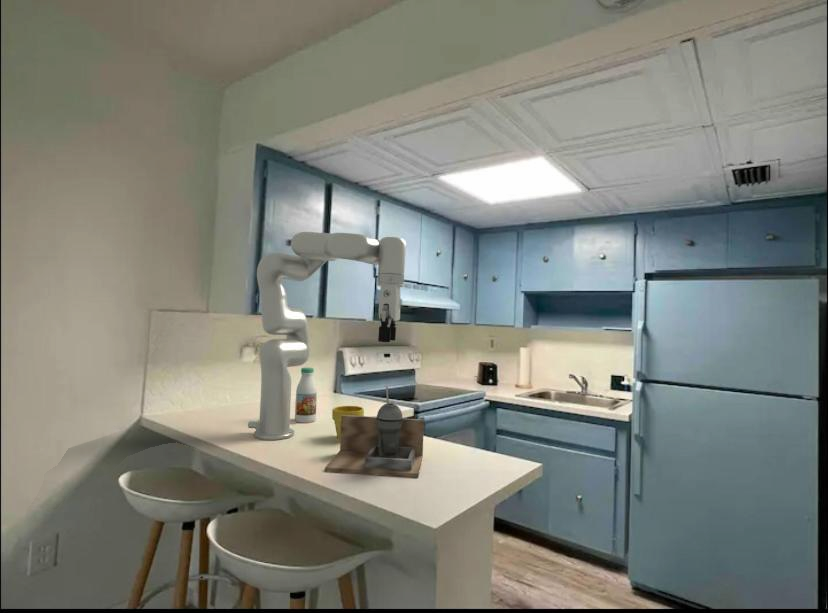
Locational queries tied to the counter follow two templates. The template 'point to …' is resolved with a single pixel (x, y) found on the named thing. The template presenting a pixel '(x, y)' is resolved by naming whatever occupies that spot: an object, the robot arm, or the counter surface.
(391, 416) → the beverage cup
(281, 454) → the counter surface
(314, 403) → the milk bottle
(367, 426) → the cup bracket
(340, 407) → the plant pot
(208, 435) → the counter surface
